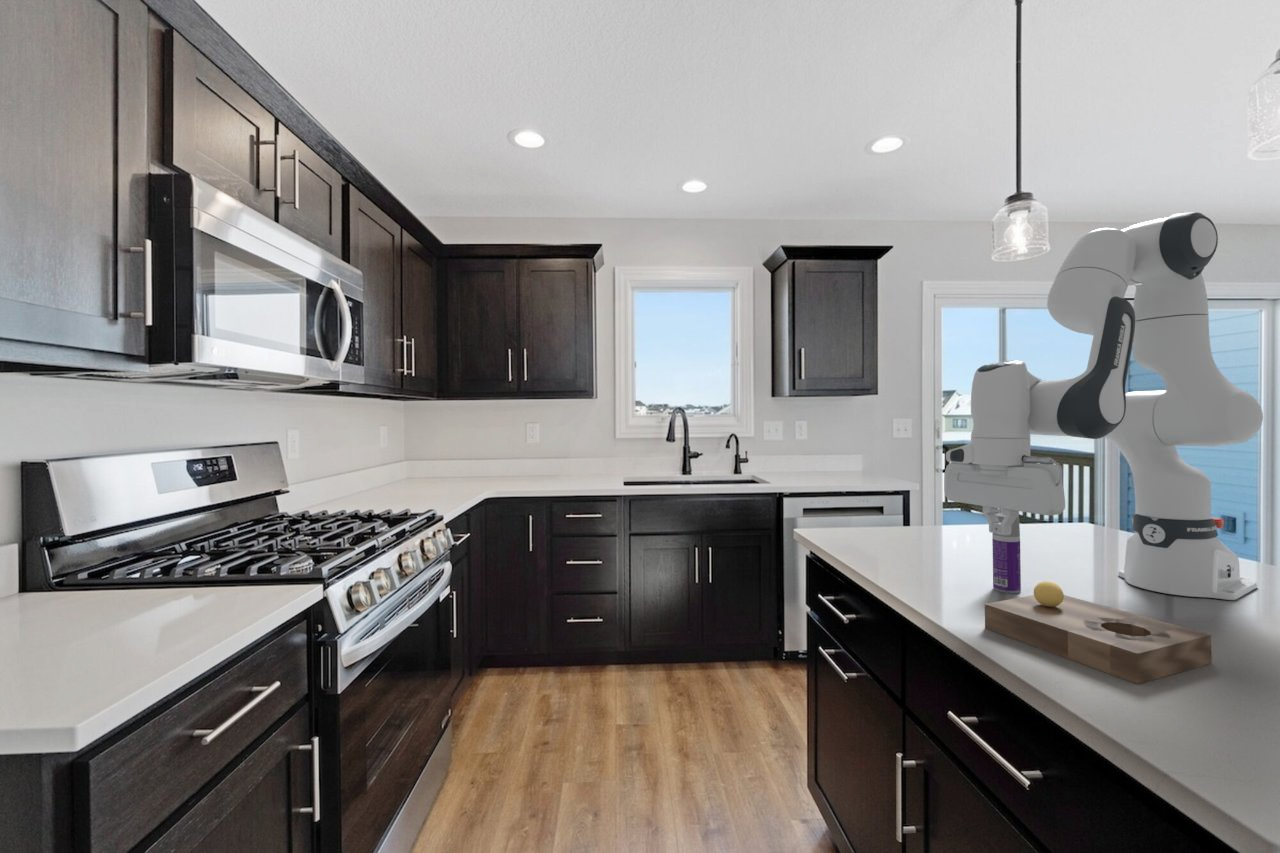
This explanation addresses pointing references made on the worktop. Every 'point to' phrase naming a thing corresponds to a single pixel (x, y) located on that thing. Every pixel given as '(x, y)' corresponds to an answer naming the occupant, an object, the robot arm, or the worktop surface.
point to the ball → (1048, 594)
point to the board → (1102, 637)
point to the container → (1007, 559)
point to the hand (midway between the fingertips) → (1000, 533)
